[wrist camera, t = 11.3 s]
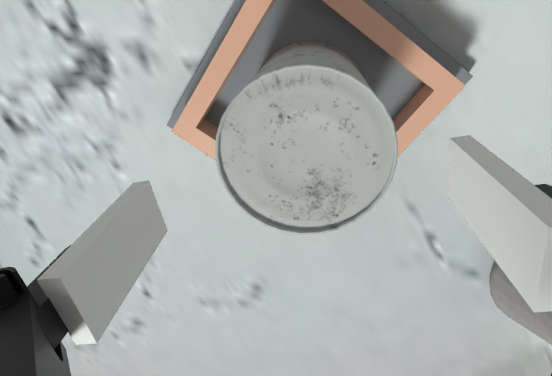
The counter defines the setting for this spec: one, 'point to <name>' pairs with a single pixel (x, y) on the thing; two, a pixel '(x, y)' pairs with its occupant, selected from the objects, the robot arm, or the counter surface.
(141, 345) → the counter surface
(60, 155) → the counter surface
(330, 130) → the grey stone cylinder
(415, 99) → the docking cradle
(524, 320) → the coffee pot
